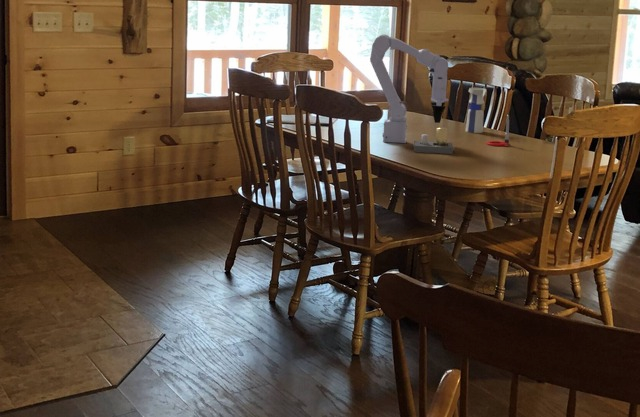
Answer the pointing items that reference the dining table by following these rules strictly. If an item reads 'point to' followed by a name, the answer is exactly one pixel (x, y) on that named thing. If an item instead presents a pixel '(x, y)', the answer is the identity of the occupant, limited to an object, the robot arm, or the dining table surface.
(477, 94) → the water bottle
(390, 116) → the ruin model on sheet
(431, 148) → the grey holder block
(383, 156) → the dining table surface
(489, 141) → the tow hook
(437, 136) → the cylinder
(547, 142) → the dining table surface
